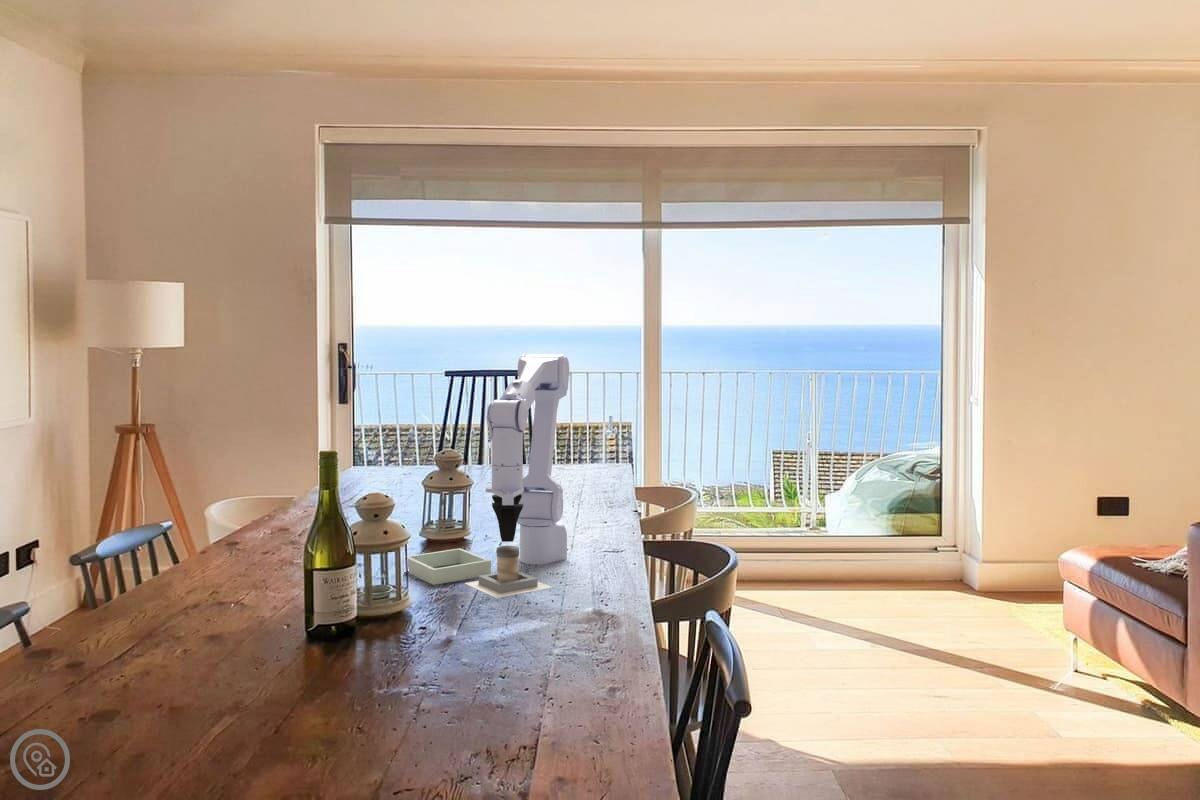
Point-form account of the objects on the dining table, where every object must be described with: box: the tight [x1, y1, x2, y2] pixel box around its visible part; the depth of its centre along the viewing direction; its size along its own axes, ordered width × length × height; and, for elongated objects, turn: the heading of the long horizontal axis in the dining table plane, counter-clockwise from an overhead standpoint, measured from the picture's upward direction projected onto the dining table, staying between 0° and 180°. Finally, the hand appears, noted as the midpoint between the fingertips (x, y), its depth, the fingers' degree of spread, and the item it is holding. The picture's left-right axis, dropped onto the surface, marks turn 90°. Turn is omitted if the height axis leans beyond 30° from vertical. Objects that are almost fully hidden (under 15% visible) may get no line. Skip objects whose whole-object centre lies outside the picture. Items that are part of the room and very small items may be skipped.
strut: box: [496, 545, 520, 583], centre depth 174 cm, size 4×4×7 cm
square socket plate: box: [463, 570, 553, 599], centre depth 175 cm, size 12×12×3 cm
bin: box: [407, 548, 492, 586], centre depth 183 cm, size 12×12×4 cm
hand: (507, 536), depth 174 cm, fingers open, 7 cm apart
